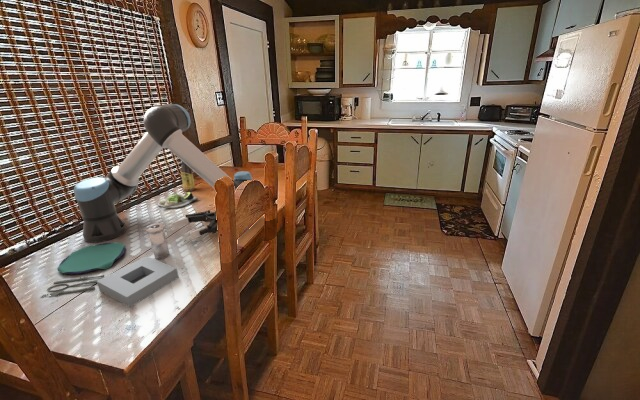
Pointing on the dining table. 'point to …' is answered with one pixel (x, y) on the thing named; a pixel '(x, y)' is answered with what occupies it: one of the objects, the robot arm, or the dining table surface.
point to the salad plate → (177, 200)
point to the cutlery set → (88, 264)
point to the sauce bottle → (187, 177)
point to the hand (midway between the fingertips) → (180, 231)
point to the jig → (137, 280)
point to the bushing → (158, 240)
